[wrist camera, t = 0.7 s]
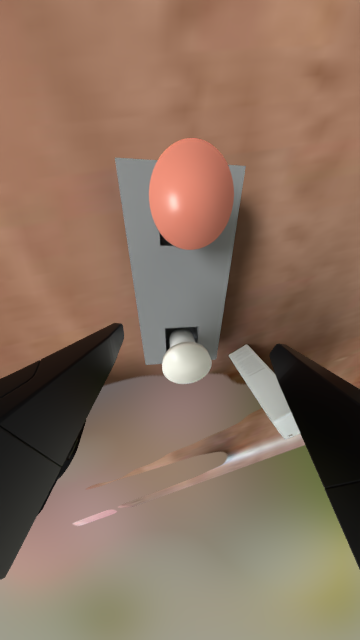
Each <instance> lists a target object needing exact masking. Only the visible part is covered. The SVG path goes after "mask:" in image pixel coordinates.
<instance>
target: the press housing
mask: <svg viewBox="0 0 360 640" xmlns="http://www.w3.org/2000/svg"><path fill="white" fill-rule="evenodd" d="M157 161H158V160H144V159H128V158H115V162H116V169H117V175H118V182H119V189H120V195H121V202H122V209H123V216H124V222H125V229H126V236H127V242H128V249H129V256H130V263H131V269H132V276H133V283H134V289H135V296H136V303H137V309H138V316H139V323H140V330H141V336H142V343H143V350H144V356H145V363H146V365H150V364H162V360H163V357H164V354H165V353H166V351H167V350H168V349H169V348H170V340H169V338H170V335H171V334H172V332H174V331H175V330H177V329H181V328H182V329H187V330H189V331H190V332H191V333H192V334H193V337H194V340H195V343H198V344H200V345H202V346H204V347H205V348H206V350H207V351H208V353H209V356H210V358H211V360H214V359H216V357H217V350H218V344H219V337H220V331H221V324H222V318H223V311H224V304H225V298H226V291H227V285H228V278H229V272H230V265H231V259H232V252H233V245H234V239H235V232H236V226H237V219H238V213H239V206H240V200H241V193H242V186H243V180H244V173H245V167H246V166H236V165H228V166H229V169H230V172H231V175H232V179H233V186H234V201H233V207H232V212H231V215H230V218H229V221H228V223H227V225H226V227H225V229H224V230H223V232H222V233H221V234H220V235H219V237H218V238H217V239H216V240H214V241H213V242H212V243H210V244H209V245H207V246H205V247H203V248H200V249H194V250H184V249H180V248H177V247H175V246H173V245H171V244H170V243H169V242H167V241H166V240H165V239H164V238H163V236H162V235H161V234H160V232H159V231H158V229H157V227H156V225H155V223H154V220H153V217H152V213H151V209H150V203H149V185H150V180H151V175H152V172H153V169H154V167H155V165H156V162H157Z"/></svg>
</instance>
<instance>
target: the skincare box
mask: <svg viewBox="0 0 360 640" xmlns="http://www.w3.org/2000/svg"><path fill="white" fill-rule="evenodd" d="M229 357H230V359H231V360H232V362H233V363H234V365H235V366H236V368H237V369H238V371H239V373H240V374H241V376H242V377H243V379H244V380H245V382H246V383H247V385H248V387H249V388H250V390H251V391H252V393H253V394H254V396H255V397H256V399H257V400H258V402H259V403H260V405H261V407H262V408H263V410H264V411H265V413H266V414H267V416H268V417H269V419H270V420H271V422H272V423H273V424H274V426H275V427H276V428H277V430H278V432H279V433H280V434H281V435H282V436H283V438H284V439H288V438H291V437H293V436H295V435H298V434H300V431H299V429H298V427H297V424H296V422H295V420H294V417H293V415H292V413H291V411H290V408H289V406H288V404H287V401H286V399H285V397H284V395H283V392H282V390H281V388H280V385H279V383H278V380H277V378H276V375H275V373H274V372H273V371H272V370H271V369H270V368H269V367H268V366H267V365H266V364H265V363H264V362H263V361H262V360H261V358H260V357H259V356H258V355H257V354H256V353H255V352H254V351H253V350H252V349H251V348H250V347H249V346H248V345H247V344H246V345H244V346H243V347H241V348H239V349H238V350H236V351H234V352H233V353H231V354H229Z"/></svg>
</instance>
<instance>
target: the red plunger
mask: <svg viewBox="0 0 360 640" xmlns="http://www.w3.org/2000/svg"><path fill="white" fill-rule="evenodd" d="M233 201H234V186H233V179H232V175H231V172H230V169H229V166H228V164H227V162H226V160H225V159H224V157H223V155H222V154H221V153H220V152H219V151H218V149H216V148H215V147H214V146H213V145H212V144H210V143H208V142H207V141H204V140H201V139H197V138H187V139H182V140H180V141H177V142H175V143H174V144H172V145H171V146H169V147H168V148H167V149H166V150H165V151H164V152H163V153H162V155H161V156H160V157H159V159H158V161H157V162H156V165H155V167H154V169H153V172H152V175H151V180H150V185H149V203H150V209H151V213H152V217H153V220H154V223H155V225H156V227H157V229H158V231H159V232H160V234H161V235H162V236H163V238H164V239H165V240H166V241H167V242H169V243H170V244H171V245H173V246H175V247H177V248H180V249H184V250H194V249H200V248H203V247H205V246H207V245H209V244H210V243H212V242H213V241H214V240H216V239H217V238H218V237H219V235H220V234H221V233H222V232H223V230H224V229H225V227H226V225H227V223H228V221H229V218H230V215H231V212H232V207H233Z"/></svg>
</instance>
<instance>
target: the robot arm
mask: <svg viewBox="0 0 360 640" xmlns="http://www.w3.org/2000/svg"><path fill="white" fill-rule="evenodd" d="M123 339H124V331H123V325H122V324H120V323H113V324H111V325H109V326H107V327H105V328H103V329H101V330H99V331H97V332H95V333H93V334H91V335H89V336H87V337H85V338H83V339H81V340H79V341H77V342H75V343H73V344H71V345H69V346H67V347H65V348H63V349H61V350H59V351H57V352H55V353H53V354H51V355H49V356H47V357H45V358H43V359H41V361H40V360H39V361H37V362H35V363H33V364H31V365H29V366H27V367H25V368H23V369H20V370H18V371H16V372H14V373H12V374H10V375H8V376H6V377H4V378H1V379H0V579H3V578H5V576H6V574H7V573H8V571H9V569H10V567H11V565H12V563H13V561H14V559H15V558H16V556H17V554H18V552H19V550H20V548H21V546H22V544H23V542H24V540H25V538H26V536H27V534H28V532H29V530H30V528H31V526H32V524H33V522H34V520H35V518H36V516H37V515H38V514H39V513H40V512H41V510H42V509H43V507H44V505H45V503H46V501H47V499H48V497H49V495H50V493H51V491H52V489H53V487H54V485H55V483H56V481H57V480H58V479H59V478H60V477H61V476H62V475H63V473H64V472H65V470H66V469H67V468H68V466H69V465H70V463H71V461H72V459H73V457H74V455H75V453H76V451H77V448H78V445H79V442H80V438H81V435H82V432H83V429H84V426H85V422H86V418H87V416H88V414H89V412H90V410H91V408H92V406H93V404H94V402H95V400H96V398H97V397H98V395H99V393H100V391H101V389H102V387H103V385H104V383H105V381H106V379H107V377H108V375H109V373H110V371H111V369H112V367H113V365H114V363H115V361H116V358H117V355H118V353H119V350H120V347H121V345H122V342H123ZM270 359H271V362H272V365H273V368H274V371H275V375H276V378H277V380H278V383H279V385H280V388H281V390H282V392H283V395H284V397H285V399H286V401H287V404H288V406H289V408H290V411H291V413H292V415H293V417H294V420H295V422H296V424H297V427H298V429H299V431H300V433H301V436H302V438H303V440H304V443H305V445H306V447H307V449H308V452H309V454H310V456H311V459H312V461H313V463H314V465H315V468H316V470H317V472H318V474H319V477H320V479H321V481H322V484H323V486H324V487H325V491H326V493H327V496H328V498H329V500H330V502H331V505H332V507H333V509H334V511H335V514H336V516H337V519H338V521H339V523H340V525H341V528H342V530H343V532H344V534H345V537H346V539H347V541H348V544H349V546H350V548H351V551H352V553H353V555H354V557H355V560H356V562H357V564H358V567H359V569H360V389H358V388H357V387H355V386H353V385H352V384H350V383H349V382H347V381H345V380H344V379H342V378H340V377H339V376H337V375H335V374H334V373H332V372H330V371H329V370H327V369H325V368H324V367H322V366H320V365H319V364H317V363H315V362H314V361H312V360H310V359H309V358H307V357H305V356H304V355H302V354H300V353H299V352H297V351H295V350H294V349H292V348H291V347H289V346H287V345H285V344H277V345H276V346H275V347H274V348H273V350H272V351H271V353H270Z"/></svg>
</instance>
